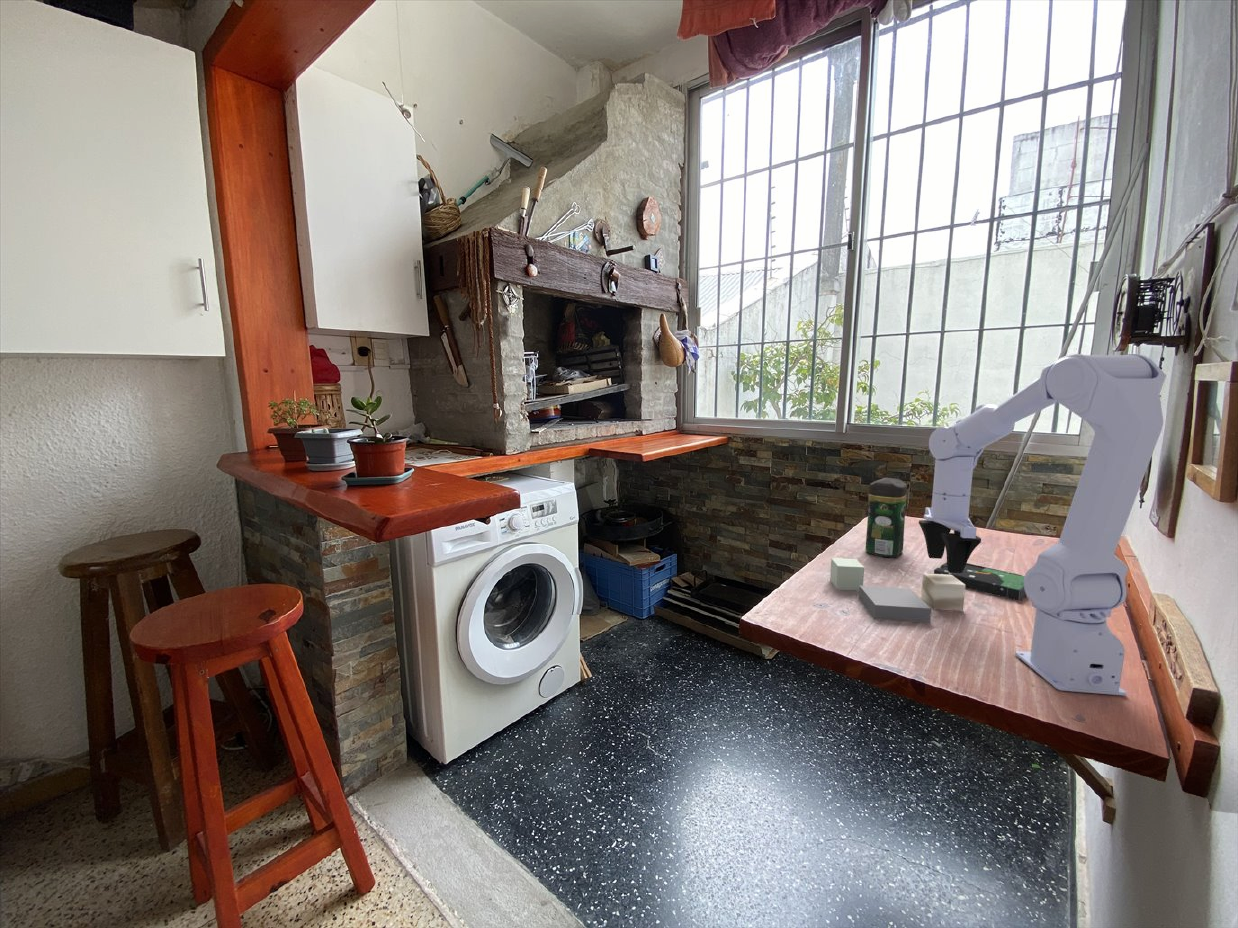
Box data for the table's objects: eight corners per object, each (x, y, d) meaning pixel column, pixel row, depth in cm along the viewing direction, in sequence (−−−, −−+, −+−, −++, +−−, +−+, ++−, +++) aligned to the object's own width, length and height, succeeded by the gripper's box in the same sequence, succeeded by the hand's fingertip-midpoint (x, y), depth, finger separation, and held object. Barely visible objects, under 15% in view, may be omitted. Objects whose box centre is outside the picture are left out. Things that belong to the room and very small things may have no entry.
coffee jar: (871, 544, 128) (876, 474, 125) (905, 550, 123) (911, 477, 120) (860, 553, 121) (865, 479, 118) (896, 560, 116) (902, 483, 113)
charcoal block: (930, 624, 84) (931, 608, 84) (874, 621, 86) (875, 604, 85) (908, 603, 93) (909, 588, 93) (858, 600, 95) (859, 585, 94)
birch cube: (963, 610, 89) (965, 584, 88) (933, 609, 90) (935, 583, 89) (949, 599, 94) (951, 574, 93) (921, 598, 95) (923, 573, 94)
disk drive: (932, 582, 104) (1020, 603, 92) (933, 569, 103) (1022, 589, 92) (948, 570, 110) (1033, 589, 99) (949, 558, 110) (1034, 576, 99)
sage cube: (862, 591, 98) (864, 567, 97) (836, 589, 99) (837, 566, 98) (855, 581, 103) (856, 558, 102) (830, 580, 104) (831, 557, 103)
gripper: (910, 485, 96) (905, 551, 98) (946, 501, 82) (939, 578, 84) (949, 486, 95) (943, 552, 97) (993, 502, 81) (985, 580, 83)
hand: (944, 564), depth 91 cm, fingers open, 7 cm apart
